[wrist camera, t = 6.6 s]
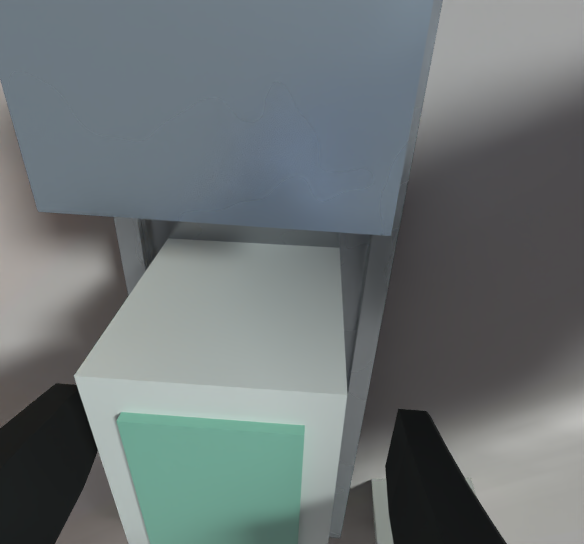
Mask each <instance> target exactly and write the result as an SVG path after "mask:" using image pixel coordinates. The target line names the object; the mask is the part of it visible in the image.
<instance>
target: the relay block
mask: <svg viewBox="0 0 584 544" xmlns="http://www.w3.org/2000/svg"><path fill="white" fill-rule="evenodd" d="M465 479H466V481H467V483H468V484H469V486H470V488H471V489H472V491H473V492H474V494H475V496H476V493H475V490H474V487H473V484H472V480H471V478H465ZM371 480H372V497H373V514H374V531H375V542H376V544H394V543H393V537H392V531H391V525H390V519H389V511H388V498H387V483H386V479H371Z"/></svg>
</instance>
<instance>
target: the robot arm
mask: <svg viewBox="0 0 584 544" xmlns="http://www.w3.org/2000/svg"><path fill="white" fill-rule="evenodd" d="M97 451H98V449H97V446H96V443H95V439H94V436H93V433H92V430H91V427H90V424H89V421H88V418H87V415H86V412H85V409H84V406H83V403H82V400H81V397H80V393H79V390H78V387H77V385H70V384H57V383H56V384H55V385H54V386H52V387H51V388H50V389H49V390H47V391H46V392H45V393H44V394H42V395H41V396H40V397H39V398H37V399H36V400H35V401H34V402H32V403H31V404H30V405H29V406H27V407H26V408H25V409H24V410H23V411H21V412H20V413H19V414H18V415H16V416H15V417H14V418H13V419H11V420H10V421H9V422H8V423H7V424H5V425H4V426H3V427H2V428H0V544H55V542H56V540H57V538H58V536H59V534H60V533H61V531H62V529H63V527H64V525H65V523H66V521H67V519H68V517H69V515H70V513H71V511H72V509H73V507H74V505H75V503H76V502H77V500H78V498H79V496H80V494H81V492H82V490H83V488H84V485H85V483H86V480H87V478H88V475H89V472H90V470H91V467H92V465H93V462H94V459H95V457H96V454H97ZM385 467H386V483H387V498H388V511H389V519H390V525H391V531H392V537H393V543H394V544H507V543H506V542H505V541H504V539H503V538H502V536H501V535H500V533H499V532H498V530H497V529H496V527H495V526H494V524H493V522H492V521H491V519H490V518H489V516H488V515H487V513H486V511H485V510H484V508H483V507H482V505H481V504H480V502H479V500H478V499H477V497H476V496H475V494H474V492H473V491H472V489H471V488H470V486H469V484H468V483H467V481H466V479H465V478H464V476H463V474H462V473H461V471H460V469H459V467H458V466H457V464H456V462H455V460H454V459H453V457H452V455H451V453H450V452H449V450H448V448H447V446H446V444H445V443H444V441H443V439H442V437H441V435H440V433H439V431H438V430H437V428H436V426H435V424H434V422H433V420H432V418H431V416H430V415H429V413H428V412H427V411H418V410H405V409H398V413H397V417H396V422H395V426H394V431H393V435H392V439H391V444H390V448H389V453H388V457H387V462H386V466H385Z"/></svg>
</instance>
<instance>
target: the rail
mask: <svg viewBox="0 0 584 544" xmlns="http://www.w3.org/2000/svg"><path fill="white" fill-rule="evenodd" d="M442 2H443V0H0V80H1V84H2V87H3V91H4V94H5V98H6V101H7V105H8V108H9V112H10V115H11V119H12V122H13V126H14V129H15V133H16V136H17V140H18V143H19V147H20V150H21V154H22V157H23V161H24V164H25V168H26V171H27V175H28V178H29V182H30V186H31V189H32V193H33V196H34V200H35V203H36V207H37V210H38V212H50V213H65V214H79V215H94V216H108V217H114V222H115V228H116V233H117V238H118V244H119V249H120V254H121V260H122V265H123V270H124V276H125V281H126V286H127V292H128V296H129V295H130V293H131V292H132V290H133V289H134V287H135V286H136V285H137V283H138V282H139V280H140V279H141V277H142V276H143V274H144V273H145V271H146V270H147V268H148V267H149V266H150V264H151V263H152V261H153V260H154V258H155V257H156V255H157V254H158V252H159V251H160V250H161V248H162V247H163V245H164V244H165V242H166V241H167V239H168V238H169V239H187V240H206V241H224V242H242V243H261V244H279V245H298V246H316V247H335V248H340V265H341V284H342V303H343V321H344V340H345V359H346V378H347V402H346V410H345V418H344V425H343V433H342V441H341V448H340V456H339V464H338V471H337V479H336V487H335V494H334V502H333V510H332V517H331V525H330V533H329V537H331V538H340V537H341V532H342V527H343V521H344V516H345V511H346V506H347V500H348V495H349V490H350V485H351V479H352V474H353V469H354V464H355V458H356V453H357V448H358V443H359V437H360V432H361V427H362V422H363V416H364V411H365V406H366V401H367V395H368V390H369V385H370V380H371V374H372V369H373V364H374V359H375V353H376V348H377V343H378V338H379V332H380V327H381V322H382V317H383V311H384V306H385V301H386V296H387V290H388V285H389V280H390V275H391V269H392V264H393V259H394V254H395V248H396V243H397V238H398V233H399V227H400V222H401V217H402V212H403V206H404V201H405V196H406V191H407V185H408V180H409V175H410V170H411V164H412V159H413V154H414V149H415V143H416V138H417V133H418V128H419V122H420V117H421V112H422V107H423V101H424V96H425V91H426V86H427V80H428V75H429V70H430V65H431V59H432V54H433V49H434V44H435V38H436V33H437V28H438V23H439V17H440V12H441V7H442Z"/></svg>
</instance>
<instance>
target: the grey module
mask: <svg viewBox="0 0 584 544" xmlns="http://www.w3.org/2000/svg"><path fill="white" fill-rule="evenodd" d="M74 378H75V381H76V384H77V387H78V390H79V393H80V397H81V400H82V403H83V406H84V409H85V412H86V415H87V418H88V421H89V424H90V427H91V430H92V433H93V436H94V439H95V443H96V446H97V449H98V452H99V455H100V458H101V461H102V464H103V467H104V470H105V473H106V476H107V479H108V482H109V485H110V489H111V492H112V495H113V498H114V501H115V504H116V507H117V510H118V513H119V516H120V519H121V522H122V525H123V528H124V531H125V535H126V538H127V541H128V544H328V540H329V533H330V525H331V517H332V510H333V502H334V494H335V487H336V479H337V471H338V464H339V456H340V448H341V441H342V433H343V425H344V418H345V410H346V402H347V378H346V359H345V340H344V321H343V303H342V284H341V265H340V248H335V247H316V246H298V245H279V244H261V243H242V242H224V241H206V240H187V239H169V238H168V239H167V241H166V242H165V244H164V245H163V247H162V248H161V250H160V251H159V252H158V254H157V255H156V257H155V258H154V260H153V261H152V263H151V264H150V266H149V267H148V268H147V270H146V271H145V273H144V274H143V276H142V277H141V279H140V280H139V282H138V283H137V285H136V286H135V287H134V289H133V290H132V292H131V293H130V295H129V296H128V298H127V299H126V301H125V302H124V304H123V305H122V306H121V308H120V309H119V311H118V312H117V314H116V315H115V317H114V318H113V320H112V321H111V322H110V324H109V325H108V327H107V328H106V330H105V331H104V333H103V334H102V336H101V337H100V339H99V340H98V341H97V343H96V344H95V346H94V347H93V349H92V350H91V352H90V353H89V355H88V356H87V358H86V359H85V360H84V362H83V363H82V365H81V366H80V368H79V369H78V371H77V372H76V374H75V375H74Z"/></svg>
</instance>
